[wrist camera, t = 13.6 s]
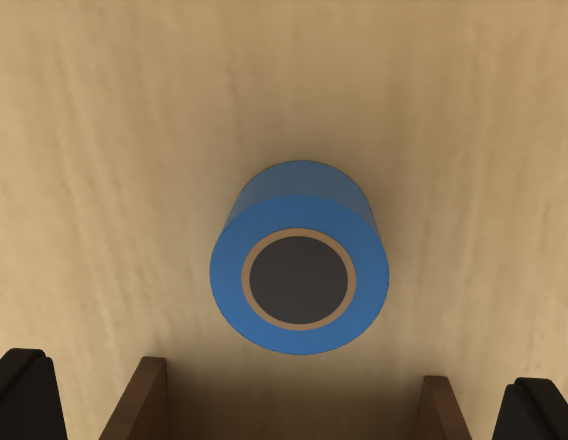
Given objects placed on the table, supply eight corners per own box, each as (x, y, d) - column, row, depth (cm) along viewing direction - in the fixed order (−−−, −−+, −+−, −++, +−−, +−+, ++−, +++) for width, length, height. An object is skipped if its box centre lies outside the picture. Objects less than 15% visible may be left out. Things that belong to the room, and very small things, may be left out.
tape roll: (231, 156, 21) (206, 191, 16) (380, 164, 21) (400, 201, 16) (231, 288, 23) (210, 351, 19) (365, 296, 23) (379, 363, 18)
